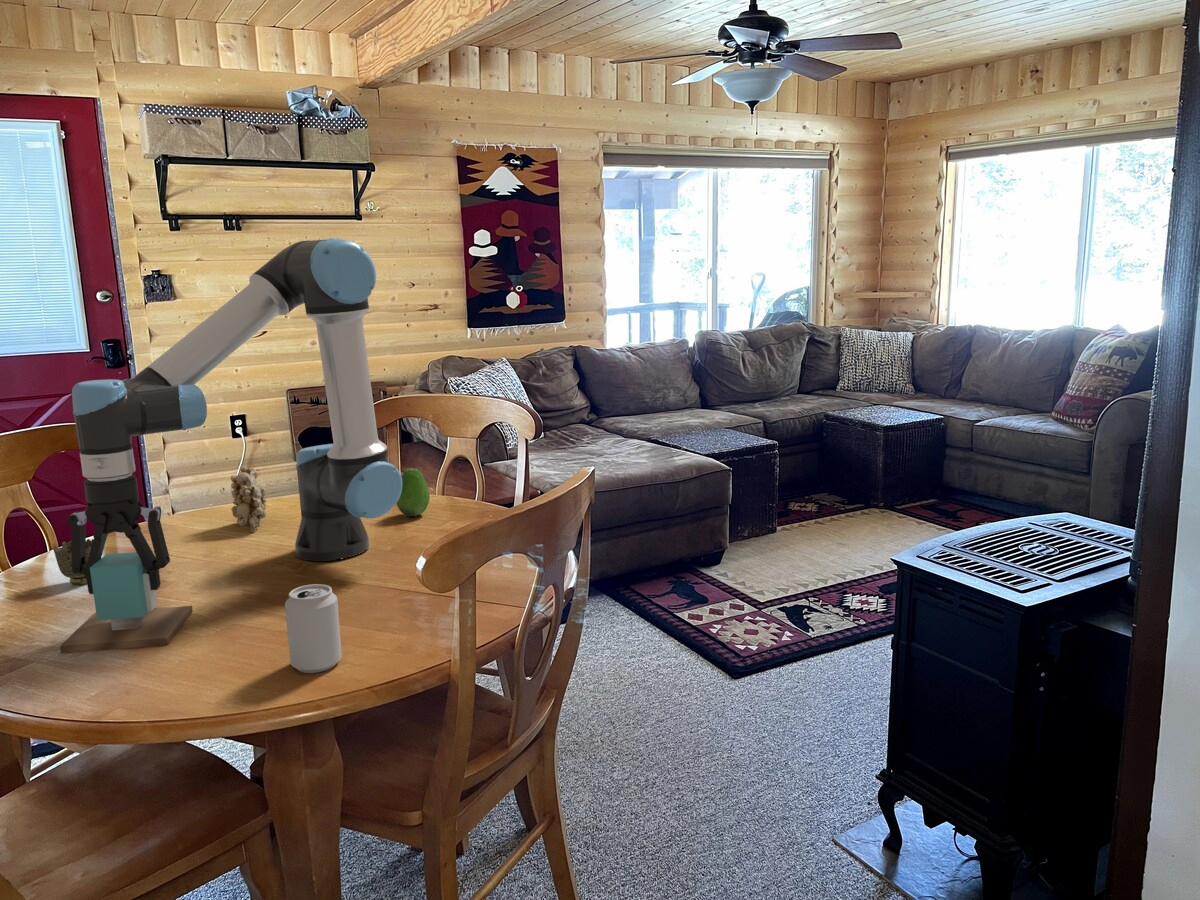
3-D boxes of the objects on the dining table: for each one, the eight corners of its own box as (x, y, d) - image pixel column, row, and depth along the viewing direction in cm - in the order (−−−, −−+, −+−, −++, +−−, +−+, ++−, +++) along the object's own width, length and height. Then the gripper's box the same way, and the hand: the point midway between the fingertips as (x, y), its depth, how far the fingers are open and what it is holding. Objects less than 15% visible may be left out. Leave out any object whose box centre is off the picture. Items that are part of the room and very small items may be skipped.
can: (297, 655, 137) (291, 582, 135) (346, 652, 138) (340, 580, 135) (285, 676, 130) (277, 600, 127) (336, 674, 130) (330, 598, 128)
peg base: (192, 612, 155) (188, 573, 154) (167, 644, 142) (162, 602, 140) (95, 619, 153) (90, 579, 151) (60, 653, 139) (54, 610, 138)
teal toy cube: (157, 601, 150) (150, 551, 148) (143, 617, 144) (136, 564, 142) (113, 604, 149) (106, 554, 147) (97, 620, 142) (89, 567, 141)
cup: (82, 591, 166) (77, 551, 164) (49, 589, 168) (43, 549, 166) (111, 577, 173) (106, 539, 172) (79, 575, 175) (74, 537, 173)
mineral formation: (265, 518, 214) (260, 458, 211) (276, 531, 203) (271, 468, 199) (230, 523, 210) (224, 462, 207) (240, 537, 199) (233, 473, 195)
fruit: (403, 511, 218) (400, 464, 216) (434, 511, 217) (431, 464, 215) (392, 520, 210) (389, 471, 208) (424, 520, 210) (421, 471, 207)
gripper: (32, 484, 136) (53, 623, 141) (167, 478, 139) (184, 613, 144) (53, 474, 144) (72, 605, 148) (182, 467, 147) (197, 597, 151)
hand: (127, 609), depth 146 cm, fingers closed on teal toy cube, 7 cm apart
